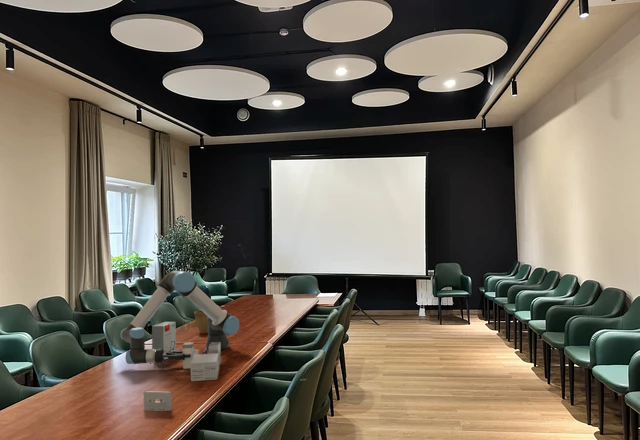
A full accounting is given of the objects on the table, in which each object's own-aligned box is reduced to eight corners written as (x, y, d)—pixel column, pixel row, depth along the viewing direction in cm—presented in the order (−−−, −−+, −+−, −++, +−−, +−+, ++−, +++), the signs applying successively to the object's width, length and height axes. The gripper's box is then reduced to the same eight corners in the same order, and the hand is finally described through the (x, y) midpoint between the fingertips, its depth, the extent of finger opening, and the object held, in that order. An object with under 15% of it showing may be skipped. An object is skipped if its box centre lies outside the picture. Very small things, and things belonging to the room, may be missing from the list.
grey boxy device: (201, 368, 260) (201, 346, 261) (204, 363, 271) (204, 342, 271) (218, 368, 261) (217, 346, 261) (220, 363, 271) (220, 341, 272)
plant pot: (218, 331, 363) (218, 310, 364) (204, 335, 351) (204, 313, 351) (205, 329, 371) (204, 309, 372) (190, 333, 359) (189, 312, 359)
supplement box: (194, 372, 255) (194, 354, 256) (219, 370, 257) (219, 352, 257) (190, 381, 239) (190, 362, 239) (217, 379, 240) (216, 361, 241)
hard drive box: (163, 360, 282) (162, 326, 283) (151, 359, 284) (151, 326, 285) (176, 353, 298) (175, 321, 298) (165, 353, 299) (164, 321, 300)
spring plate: (202, 366, 262) (202, 351, 262) (205, 362, 270) (205, 348, 270) (205, 366, 262) (204, 351, 262) (207, 362, 270) (207, 348, 270)
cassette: (172, 409, 200) (171, 391, 200) (170, 411, 198) (169, 392, 198) (145, 409, 202) (145, 390, 202) (143, 410, 200) (142, 392, 200)
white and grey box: (183, 368, 262) (182, 344, 262) (185, 365, 268) (184, 342, 268) (199, 367, 263) (199, 344, 263) (201, 365, 268) (200, 341, 269)
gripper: (160, 358, 273) (201, 356, 275) (150, 367, 255) (194, 365, 256) (159, 345, 273) (200, 343, 275) (150, 353, 255) (194, 351, 256)
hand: (197, 353), depth 266 cm, fingers closed on white and grey box, 5 cm apart
